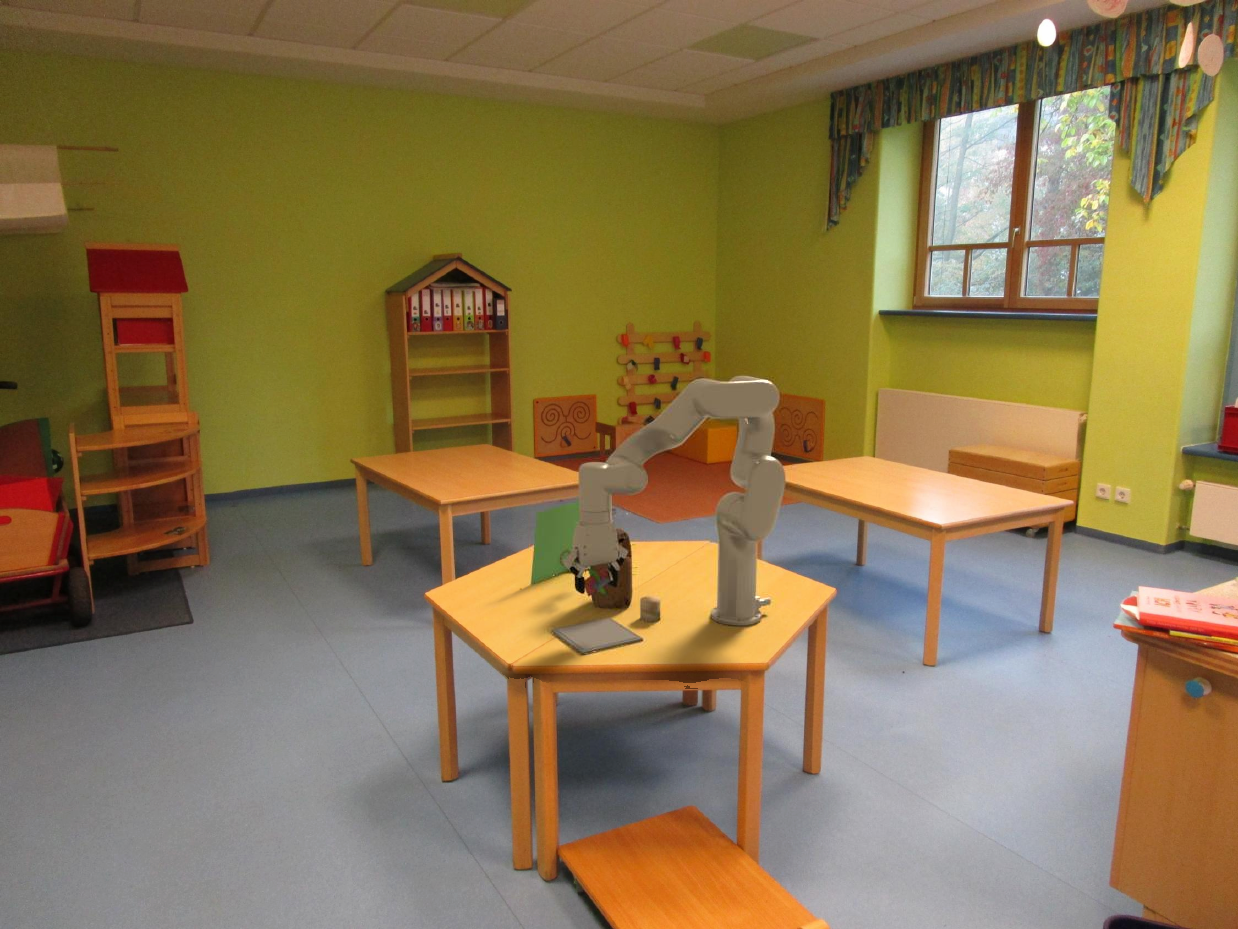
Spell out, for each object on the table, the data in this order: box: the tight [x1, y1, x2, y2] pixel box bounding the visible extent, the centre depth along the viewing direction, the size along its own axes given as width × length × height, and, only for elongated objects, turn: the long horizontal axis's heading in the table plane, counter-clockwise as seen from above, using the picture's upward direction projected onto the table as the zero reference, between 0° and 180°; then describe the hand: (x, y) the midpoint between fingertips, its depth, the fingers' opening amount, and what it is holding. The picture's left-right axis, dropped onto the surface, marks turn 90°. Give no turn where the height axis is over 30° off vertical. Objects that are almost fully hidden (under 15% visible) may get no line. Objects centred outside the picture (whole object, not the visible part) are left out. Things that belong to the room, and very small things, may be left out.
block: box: [589, 528, 633, 609], centre depth 227 cm, size 11×8×20 cm
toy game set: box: [530, 500, 638, 585], centre depth 243 cm, size 22×25×24 cm
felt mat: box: [550, 616, 644, 655], centre depth 208 cm, size 16×16×1 cm
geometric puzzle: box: [583, 566, 613, 597], centre depth 205 cm, size 7×7×8 cm
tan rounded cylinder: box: [639, 595, 662, 624], centre depth 218 cm, size 5×5×5 cm
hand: (596, 588), depth 206 cm, fingers closed on geometric puzzle, 8 cm apart
